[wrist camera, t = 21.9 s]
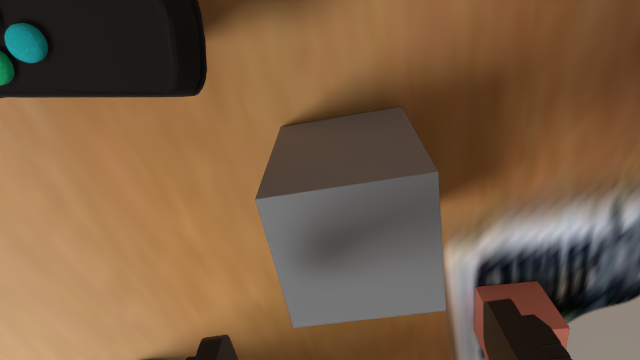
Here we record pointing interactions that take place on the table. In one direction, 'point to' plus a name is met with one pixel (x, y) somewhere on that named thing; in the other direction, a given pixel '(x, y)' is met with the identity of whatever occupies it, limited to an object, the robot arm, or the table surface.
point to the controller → (101, 48)
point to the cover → (354, 219)
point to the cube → (520, 307)
